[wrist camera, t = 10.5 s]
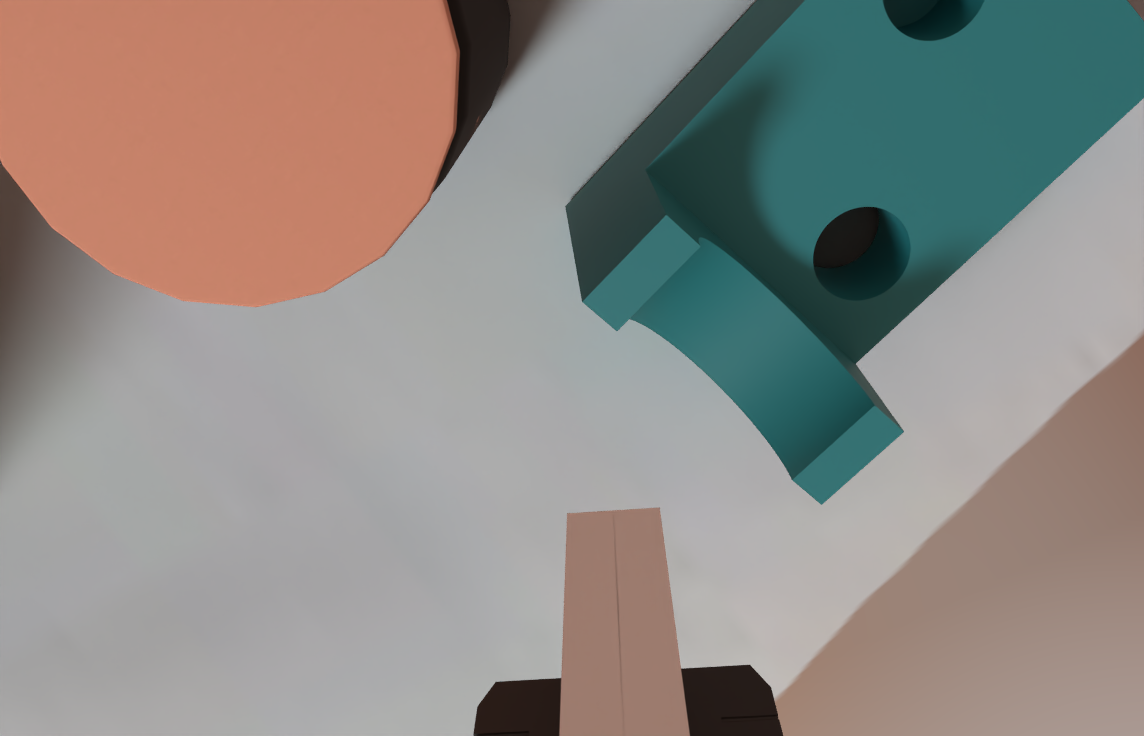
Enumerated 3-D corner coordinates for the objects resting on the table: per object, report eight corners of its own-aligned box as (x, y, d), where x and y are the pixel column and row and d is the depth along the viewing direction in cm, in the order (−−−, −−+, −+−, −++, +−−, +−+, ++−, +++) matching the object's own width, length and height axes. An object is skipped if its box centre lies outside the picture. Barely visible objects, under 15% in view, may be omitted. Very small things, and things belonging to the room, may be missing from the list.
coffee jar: (251, 179, 42) (28, 325, 25) (197, -122, 39) (-105, -185, 22) (525, 159, 42) (484, 294, 25) (498, -147, 38) (429, -230, 21)
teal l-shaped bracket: (756, 374, 46) (821, 504, 36) (565, 206, 42) (582, 301, 33) (1103, 43, 41) (1285, 94, 31) (919, -176, 37) (1060, -194, 28)
